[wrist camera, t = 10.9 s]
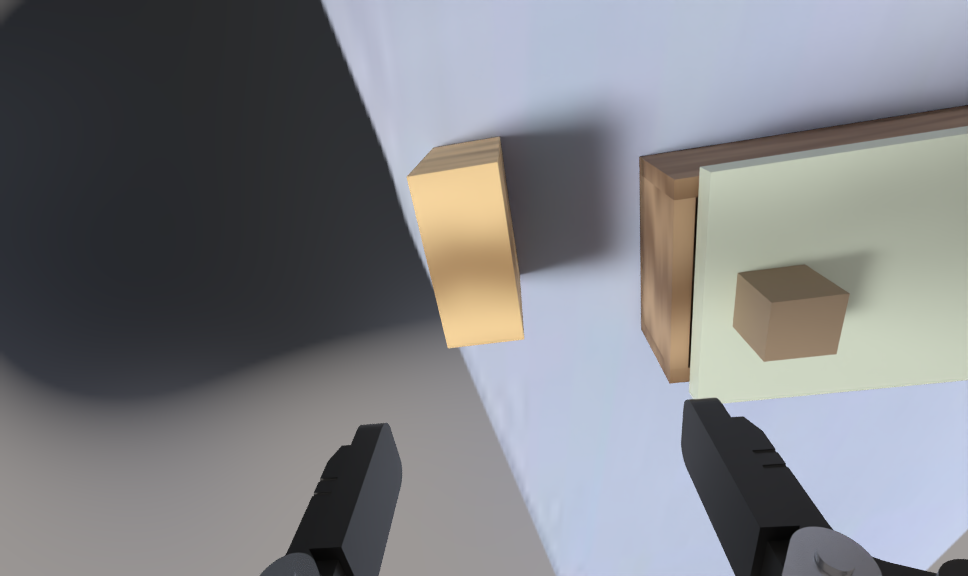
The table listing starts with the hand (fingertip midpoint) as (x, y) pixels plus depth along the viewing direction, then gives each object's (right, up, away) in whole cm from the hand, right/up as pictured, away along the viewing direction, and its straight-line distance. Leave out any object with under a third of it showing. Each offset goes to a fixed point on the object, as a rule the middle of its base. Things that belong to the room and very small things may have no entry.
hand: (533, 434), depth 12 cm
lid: (+18, +5, +10) cm, 21 cm away
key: (-2, +9, +16) cm, 18 cm away
